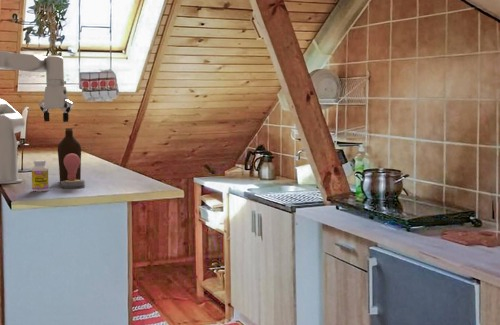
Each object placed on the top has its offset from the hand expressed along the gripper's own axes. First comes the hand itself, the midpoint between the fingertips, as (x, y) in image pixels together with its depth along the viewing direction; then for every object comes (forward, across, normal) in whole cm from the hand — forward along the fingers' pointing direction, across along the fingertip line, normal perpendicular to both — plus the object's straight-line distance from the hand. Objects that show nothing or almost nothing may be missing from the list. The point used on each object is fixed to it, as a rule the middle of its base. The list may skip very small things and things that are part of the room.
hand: (56, 121), depth 292 cm
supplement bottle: (+28, -5, +21) cm, 36 cm away
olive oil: (+28, -2, -8) cm, 30 cm away
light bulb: (+26, -12, +7) cm, 29 cm away
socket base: (+28, -12, +7) cm, 32 cm away
